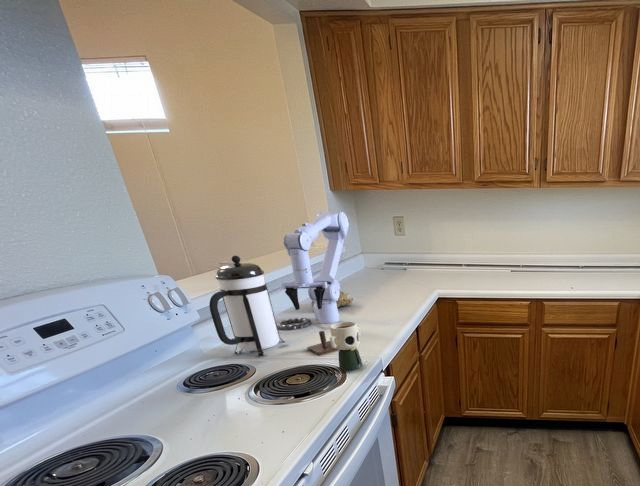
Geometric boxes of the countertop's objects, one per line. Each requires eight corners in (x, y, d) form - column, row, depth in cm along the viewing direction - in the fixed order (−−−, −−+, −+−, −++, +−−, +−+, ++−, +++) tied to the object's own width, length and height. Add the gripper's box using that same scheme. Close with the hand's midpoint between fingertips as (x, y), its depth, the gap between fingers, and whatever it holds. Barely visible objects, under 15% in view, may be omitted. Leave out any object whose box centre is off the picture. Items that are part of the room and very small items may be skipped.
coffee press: (234, 346, 139) (206, 255, 127) (287, 339, 145) (264, 250, 133) (226, 364, 125) (193, 262, 113) (285, 355, 130) (259, 257, 118)
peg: (307, 350, 135) (303, 332, 132) (330, 343, 140) (327, 326, 138) (319, 355, 130) (315, 337, 127) (342, 348, 135) (339, 330, 133)
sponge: (339, 305, 193) (299, 306, 176) (341, 289, 190) (301, 288, 173) (358, 314, 187) (318, 316, 170) (360, 297, 184) (320, 297, 168)
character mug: (348, 377, 114) (339, 332, 108) (328, 373, 116) (318, 329, 111) (373, 363, 123) (366, 320, 117) (354, 360, 125) (346, 318, 120)
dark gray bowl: (272, 329, 156) (270, 322, 155) (303, 322, 164) (302, 315, 163) (286, 335, 149) (284, 328, 148) (318, 327, 157) (316, 320, 156)
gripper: (275, 271, 138) (283, 312, 142) (320, 270, 139) (326, 310, 144) (283, 269, 144) (290, 308, 149) (326, 268, 146) (332, 306, 150)
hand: (308, 309), depth 147 cm, fingers open, 7 cm apart
